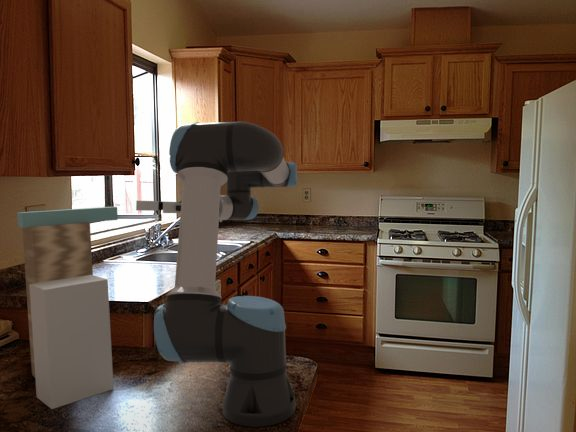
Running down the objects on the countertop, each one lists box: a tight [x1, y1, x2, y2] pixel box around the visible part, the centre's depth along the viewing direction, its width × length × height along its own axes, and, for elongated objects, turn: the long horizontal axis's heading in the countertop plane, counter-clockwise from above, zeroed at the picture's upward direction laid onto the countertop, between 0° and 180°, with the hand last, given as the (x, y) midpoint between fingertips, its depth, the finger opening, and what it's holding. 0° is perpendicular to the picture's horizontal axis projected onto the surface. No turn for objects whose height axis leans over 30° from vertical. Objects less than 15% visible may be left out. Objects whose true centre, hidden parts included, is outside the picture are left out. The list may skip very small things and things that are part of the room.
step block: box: [29, 275, 114, 410], centre depth 117 cm, size 14×9×26 cm, turn 135°
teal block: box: [16, 206, 119, 228], centre depth 131 cm, size 24×4×4 cm, turn 135°
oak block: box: [21, 222, 94, 378], centre depth 130 cm, size 14×7×38 cm, turn 135°
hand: (149, 206), depth 136 cm, fingers open, 13 cm apart
